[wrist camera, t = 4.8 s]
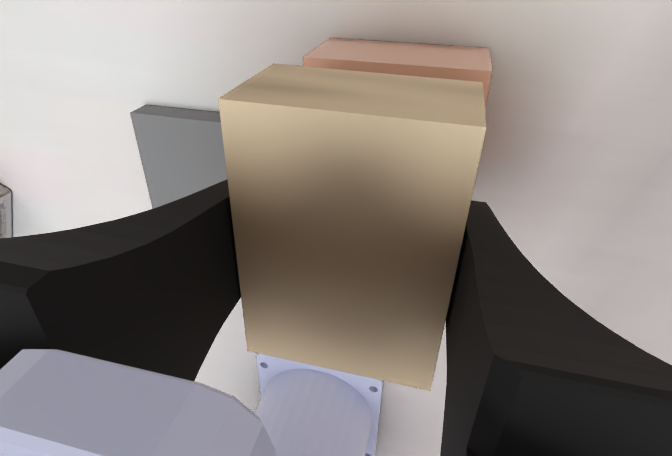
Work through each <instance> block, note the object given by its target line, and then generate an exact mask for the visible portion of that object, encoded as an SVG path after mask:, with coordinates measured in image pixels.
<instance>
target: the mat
mask: <svg viewBox="0 0 672 456" xmlns="http://www.w3.org/2000/svg"><path fill="white" fill-rule="evenodd" d="M130 114H131V119H132V123H133V127H134V131H135V136H136V140H137V144H138V148H139V153H140V157H141V161H142V165H143V170H144V174H145V178H146V182H147V187H148V191H149V195H150V199H151V204H152V208H153V209H154V208H157V207H160V206H162V205H165V204H167V203H170V202H173V201H175V200H178V199H181V198H183V197H186V196H188V195H191V194H193V193H196V192H198V191H200V190H203V189H205V188H207V187H210V186H212V185H215V184H217V183H219V182H222V181H224V180H226V179H227V170H226V162H225V153H224V145H223V136H222V128H221V119H220V112H210V111H201V110H191V109H181V108H172V107H162V106H152V105H144V106H142V107H141V108H139V109H137V110H135V111H133V112H131V113H130Z"/></svg>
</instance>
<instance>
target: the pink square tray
mask: <svg viewBox="0 0 672 456" xmlns="http://www.w3.org/2000/svg"><path fill="white" fill-rule="evenodd" d="M303 66H305V67H316V68H328V69H339V70H350V71H362V72H373V73H385V74H396V75H407V76H419V77H430V78H442V79H453V80H464V81H476V82H483V91H484V103H485V107H486V102H487V97H488V92H489V86H490V81H491V76H492V64H491V57H490V50H489V48H481V47H466V46H451V45H435V44H420V43H404V42H389V41H373V40H358V39H342V38H329V39H328V40H327V41H325V42H324V43H322V44H321V45H320V46H318V47H317V48H315V49H314V50H312V51H311V52H310V53H308V54H307V55H305V56H304V57H303Z"/></svg>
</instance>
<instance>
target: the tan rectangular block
mask: <svg viewBox="0 0 672 456" xmlns="http://www.w3.org/2000/svg"><path fill="white" fill-rule="evenodd" d="M218 102H219V110H220V119H221V128H222V136H223V145H224V153H225V162H226V170H227V179H228V188H229V196H230V205H231V213H232V222H233V231H234V239H235V248H236V256H237V265H238V274H239V282H240V291H241V299H242V308H243V316H244V325H245V334H246V342H247V351H250V352H254V353H259V354H263V355H268V356H273V357H277V358H282V359H286V360H291V361H295V362H300V363H305V364H309V365H314V366H318V367H323V368H328V369H332V370H337V371H341V372H346V373H351V374H355V375H360V376H364V377H369V378H373V379H378V380H383V381H387V382H392V383H396V384H401V385H406V386H410V387H415V388H419V389H424V390H429V391H431V386H432V381H433V377H434V372H435V367H436V363H437V358H438V353H439V348H440V344H441V339H442V334H443V330H444V325H445V320H446V316H447V311H448V306H449V301H450V297H451V292H452V287H453V283H454V278H455V273H456V269H457V264H458V259H459V254H460V250H461V245H462V240H463V236H464V231H465V226H466V221H467V217H468V212H469V207H470V203H471V198H472V193H473V189H474V184H475V179H476V174H477V170H478V165H479V160H480V156H481V151H482V146H483V141H484V137H485V132H486V115H485V103H484V91H483V82H476V81H464V80H453V79H442V78H430V77H419V76H407V75H396V74H385V73H373V72H362V71H350V70H339V69H328V68H316V67H305V66H293V65H282V64H272V65H271V66H269V67H268V68H266V69H264V70H263V71H261V72H260V73H258V74H257V75H255V76H253V77H252V78H250V79H249V80H247V81H246V82H244V83H242V84H241V85H239V86H238V87H236V88H235V89H233V90H231V91H230V92H228V93H227V94H225V95H224V96H222V97H220V98H219V99H218Z"/></svg>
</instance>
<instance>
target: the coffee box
mask: <svg viewBox="0 0 672 456" xmlns="http://www.w3.org/2000/svg"><path fill="white" fill-rule="evenodd" d="M0 238H12V212H11V191H10V190H9V189H8V188H6V187H4V186H2V185H0Z"/></svg>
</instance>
